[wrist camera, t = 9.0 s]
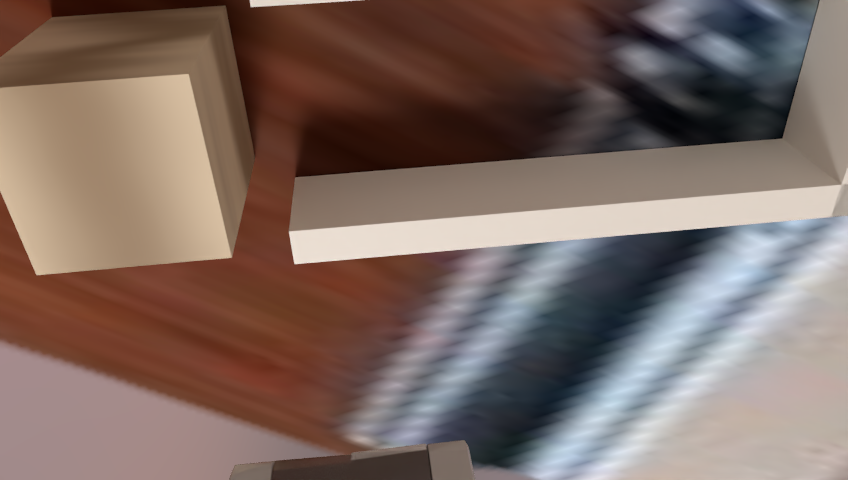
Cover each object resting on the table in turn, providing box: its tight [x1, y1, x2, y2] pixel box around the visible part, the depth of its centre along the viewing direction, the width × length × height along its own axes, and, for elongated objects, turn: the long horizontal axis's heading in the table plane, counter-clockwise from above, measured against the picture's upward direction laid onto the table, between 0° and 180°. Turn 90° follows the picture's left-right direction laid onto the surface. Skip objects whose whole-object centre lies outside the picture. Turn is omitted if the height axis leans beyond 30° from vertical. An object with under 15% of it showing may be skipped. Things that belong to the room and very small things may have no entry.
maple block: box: [0, 6, 255, 275], centre depth 19 cm, size 5×5×6 cm
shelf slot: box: [250, 0, 848, 264], centre depth 21 cm, size 19×9×4 cm, turn 92°
